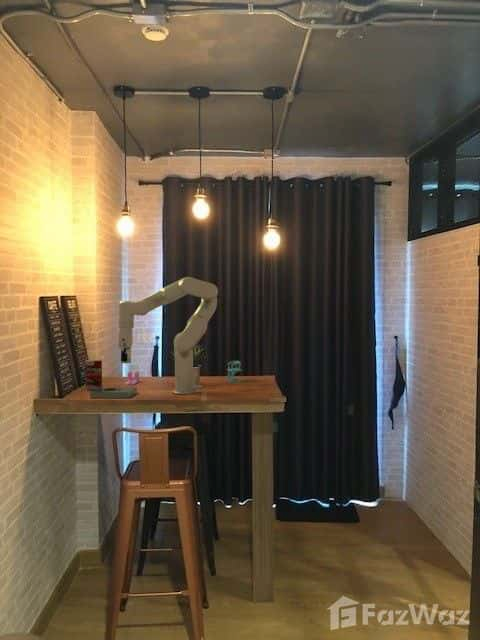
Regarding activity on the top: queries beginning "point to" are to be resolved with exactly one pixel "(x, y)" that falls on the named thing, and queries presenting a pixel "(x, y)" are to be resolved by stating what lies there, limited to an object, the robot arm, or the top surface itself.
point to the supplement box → (93, 374)
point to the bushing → (128, 356)
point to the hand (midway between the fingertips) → (125, 360)
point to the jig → (113, 392)
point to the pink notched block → (130, 381)
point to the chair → (233, 371)
